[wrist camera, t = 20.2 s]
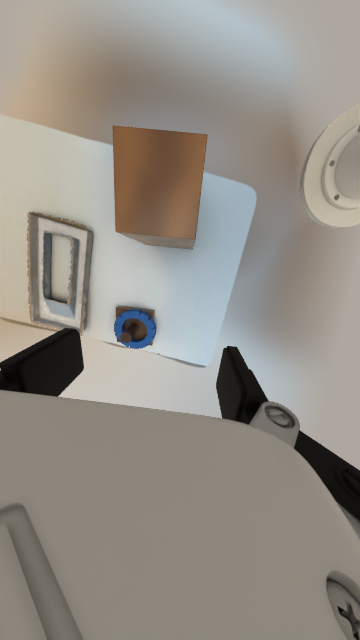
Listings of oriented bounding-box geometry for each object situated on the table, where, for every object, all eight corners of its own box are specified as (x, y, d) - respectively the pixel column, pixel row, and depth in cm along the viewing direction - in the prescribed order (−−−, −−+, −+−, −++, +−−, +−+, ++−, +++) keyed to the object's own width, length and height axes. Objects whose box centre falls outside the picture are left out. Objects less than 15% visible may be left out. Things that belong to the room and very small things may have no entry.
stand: (198, 194, 32) (207, 134, 17) (192, 249, 36) (195, 239, 20) (148, 188, 32) (112, 125, 17) (146, 244, 36) (115, 231, 21)
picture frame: (39, 319, 43) (29, 323, 40) (34, 210, 35) (21, 206, 32) (90, 331, 43) (83, 336, 41) (97, 227, 35) (89, 224, 32)
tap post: (154, 310, 41) (147, 320, 33) (153, 342, 44) (146, 358, 36) (118, 306, 41) (103, 315, 34) (119, 339, 44) (105, 354, 37)
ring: (157, 311, 39) (155, 313, 37) (154, 347, 42) (153, 350, 41) (116, 306, 39) (113, 308, 37) (117, 342, 42) (114, 346, 41)
